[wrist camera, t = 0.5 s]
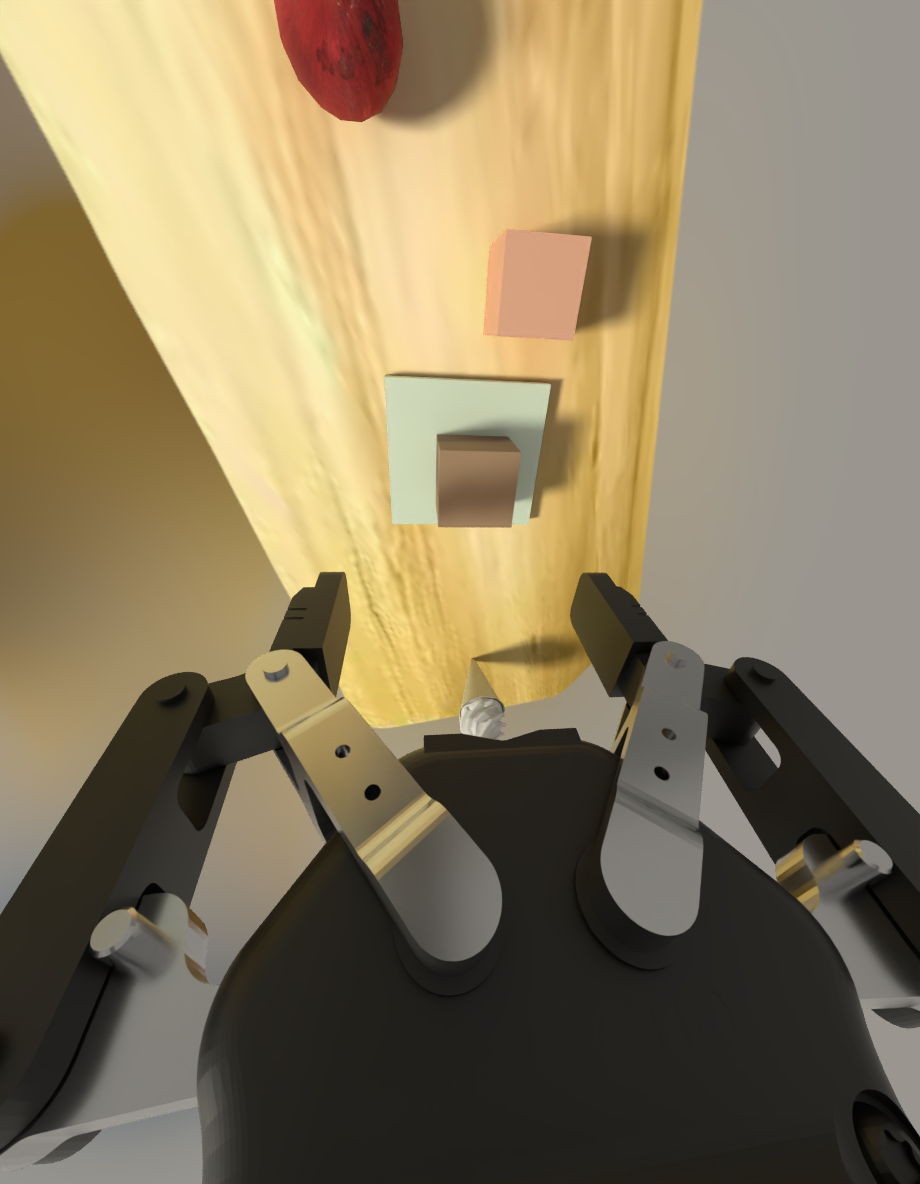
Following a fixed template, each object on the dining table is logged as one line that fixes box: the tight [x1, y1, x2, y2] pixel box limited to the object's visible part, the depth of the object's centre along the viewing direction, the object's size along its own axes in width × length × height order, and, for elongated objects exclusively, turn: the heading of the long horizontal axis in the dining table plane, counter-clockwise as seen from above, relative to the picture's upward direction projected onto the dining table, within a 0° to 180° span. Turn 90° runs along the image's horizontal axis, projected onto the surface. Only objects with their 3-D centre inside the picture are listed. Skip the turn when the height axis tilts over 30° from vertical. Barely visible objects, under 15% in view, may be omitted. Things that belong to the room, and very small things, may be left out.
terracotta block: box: [483, 229, 592, 341], centre depth 26 cm, size 5×5×6 cm
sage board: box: [384, 375, 551, 525], centre depth 34 cm, size 12×13×1 cm
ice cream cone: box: [459, 658, 507, 740], centre depth 42 cm, size 5×5×15 cm
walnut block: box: [436, 434, 521, 527], centre depth 32 cm, size 6×6×5 cm
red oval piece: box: [274, 0, 403, 122], centre depth 18 cm, size 6×6×8 cm
